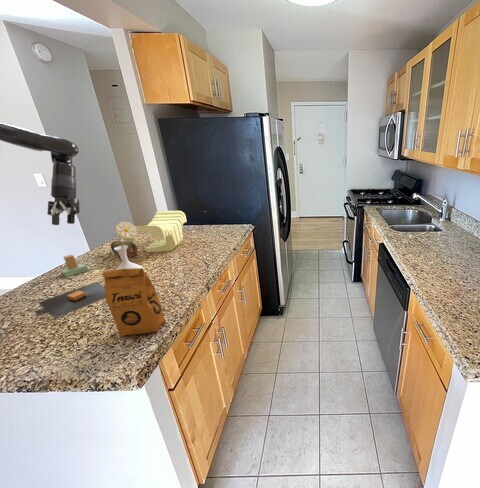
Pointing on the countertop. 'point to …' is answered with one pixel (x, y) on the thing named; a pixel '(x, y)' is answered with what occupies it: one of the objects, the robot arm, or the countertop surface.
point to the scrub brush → (72, 267)
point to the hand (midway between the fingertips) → (63, 224)
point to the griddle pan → (64, 305)
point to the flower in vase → (126, 232)
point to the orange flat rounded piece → (76, 295)
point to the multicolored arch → (130, 249)
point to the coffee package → (133, 301)
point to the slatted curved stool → (165, 230)
